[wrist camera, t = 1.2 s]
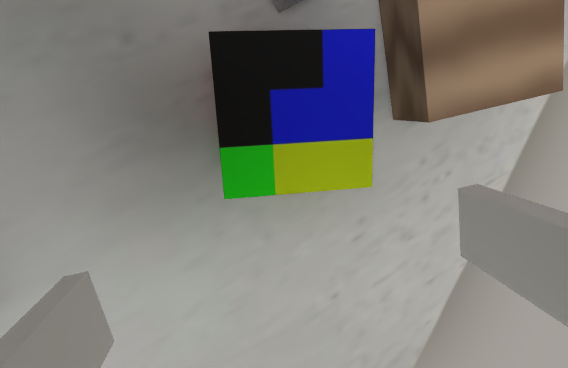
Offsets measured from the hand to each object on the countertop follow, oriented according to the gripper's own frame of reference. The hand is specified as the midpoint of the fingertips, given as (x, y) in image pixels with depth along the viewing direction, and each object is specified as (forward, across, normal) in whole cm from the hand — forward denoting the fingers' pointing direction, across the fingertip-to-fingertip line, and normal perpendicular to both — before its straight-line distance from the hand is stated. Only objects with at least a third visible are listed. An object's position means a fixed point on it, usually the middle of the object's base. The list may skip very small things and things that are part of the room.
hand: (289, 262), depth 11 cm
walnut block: (+20, +20, +8) cm, 29 cm away
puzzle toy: (+20, +3, +4) cm, 21 cm away
